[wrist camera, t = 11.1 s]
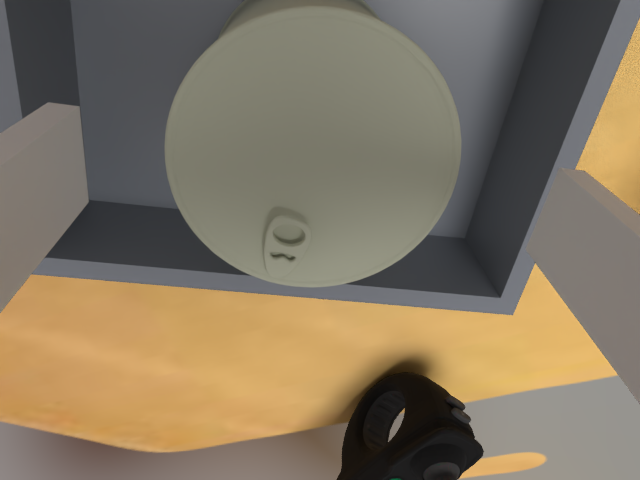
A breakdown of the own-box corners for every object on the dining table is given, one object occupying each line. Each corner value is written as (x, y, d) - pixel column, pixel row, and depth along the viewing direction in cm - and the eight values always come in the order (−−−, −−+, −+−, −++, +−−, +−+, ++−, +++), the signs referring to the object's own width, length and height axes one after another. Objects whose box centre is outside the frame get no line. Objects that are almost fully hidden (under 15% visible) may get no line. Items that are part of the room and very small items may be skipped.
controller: (458, 361, 37) (509, 486, 29) (348, 449, 42) (363, 580, 33) (418, 334, 36) (459, 458, 27) (307, 428, 40) (313, 560, 31)
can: (194, 137, 26) (135, 261, 16) (238, -54, 22) (193, -52, 12) (357, 185, 28) (395, 323, 18) (425, 18, 24) (527, 73, 14)
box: (584, -87, 23) (688, -98, 17) (470, 245, 32) (512, 315, 26) (36, -190, 20) (-71, -248, 14) (78, 206, 29) (23, 273, 23)
